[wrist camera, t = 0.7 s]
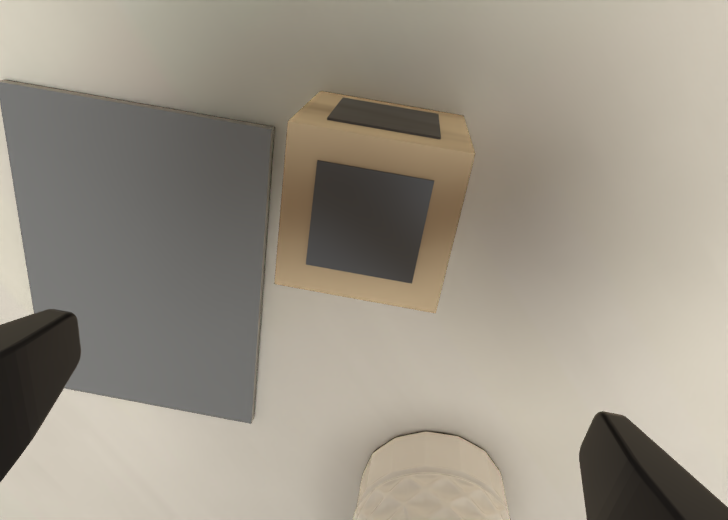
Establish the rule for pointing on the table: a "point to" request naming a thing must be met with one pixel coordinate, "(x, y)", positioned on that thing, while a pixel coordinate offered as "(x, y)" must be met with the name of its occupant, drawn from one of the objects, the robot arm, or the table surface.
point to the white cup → (431, 481)
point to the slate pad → (145, 242)
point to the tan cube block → (371, 199)
